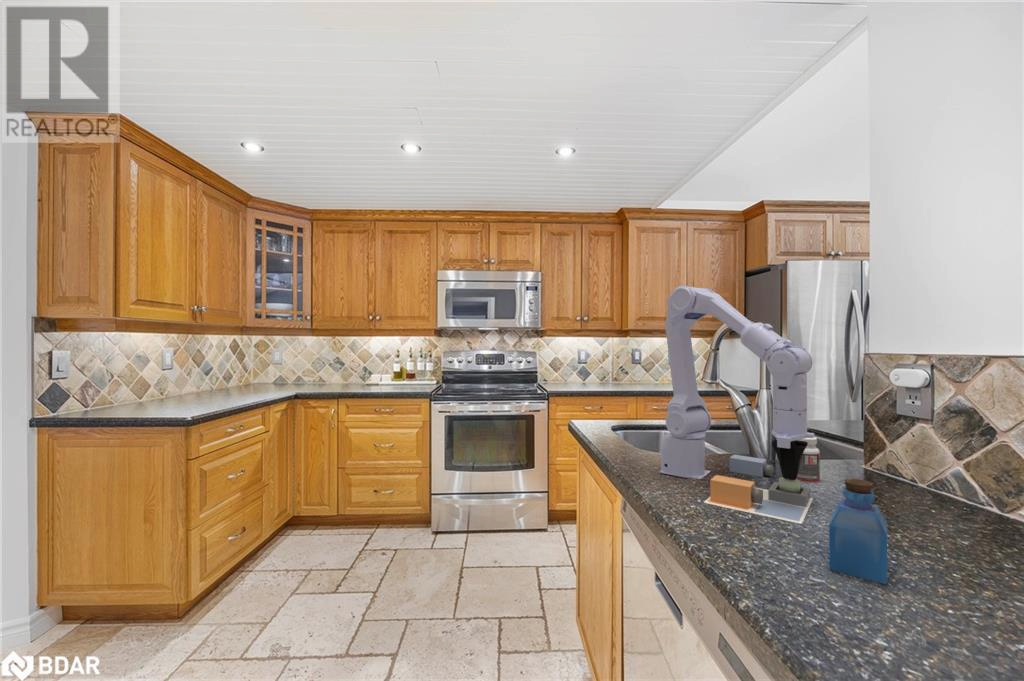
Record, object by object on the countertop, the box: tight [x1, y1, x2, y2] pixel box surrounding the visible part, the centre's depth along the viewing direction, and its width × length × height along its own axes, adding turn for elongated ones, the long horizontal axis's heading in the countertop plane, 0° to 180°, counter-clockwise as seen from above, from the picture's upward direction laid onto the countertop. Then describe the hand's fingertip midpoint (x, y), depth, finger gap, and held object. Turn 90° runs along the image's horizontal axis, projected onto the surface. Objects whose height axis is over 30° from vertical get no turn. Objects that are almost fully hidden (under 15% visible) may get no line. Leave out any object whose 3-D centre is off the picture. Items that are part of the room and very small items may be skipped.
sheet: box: [703, 487, 814, 525], centre depth 88 cm, size 16×16×1 cm
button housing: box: [767, 481, 811, 507], centre depth 89 cm, size 6×6×2 cm
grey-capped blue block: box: [728, 454, 774, 478], centre depth 106 cm, size 8×4×4 cm, turn 49°
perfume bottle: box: [828, 478, 888, 586], centre depth 63 cm, size 6×6×12 cm
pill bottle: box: [796, 436, 821, 484], centre depth 102 cm, size 6×6×10 cm
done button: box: [778, 476, 801, 493], centre depth 89 cm, size 4×4×2 cm
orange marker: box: [709, 474, 763, 509], centre depth 87 cm, size 8×4×4 cm, turn 51°
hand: (789, 478), depth 89 cm, fingers closed
